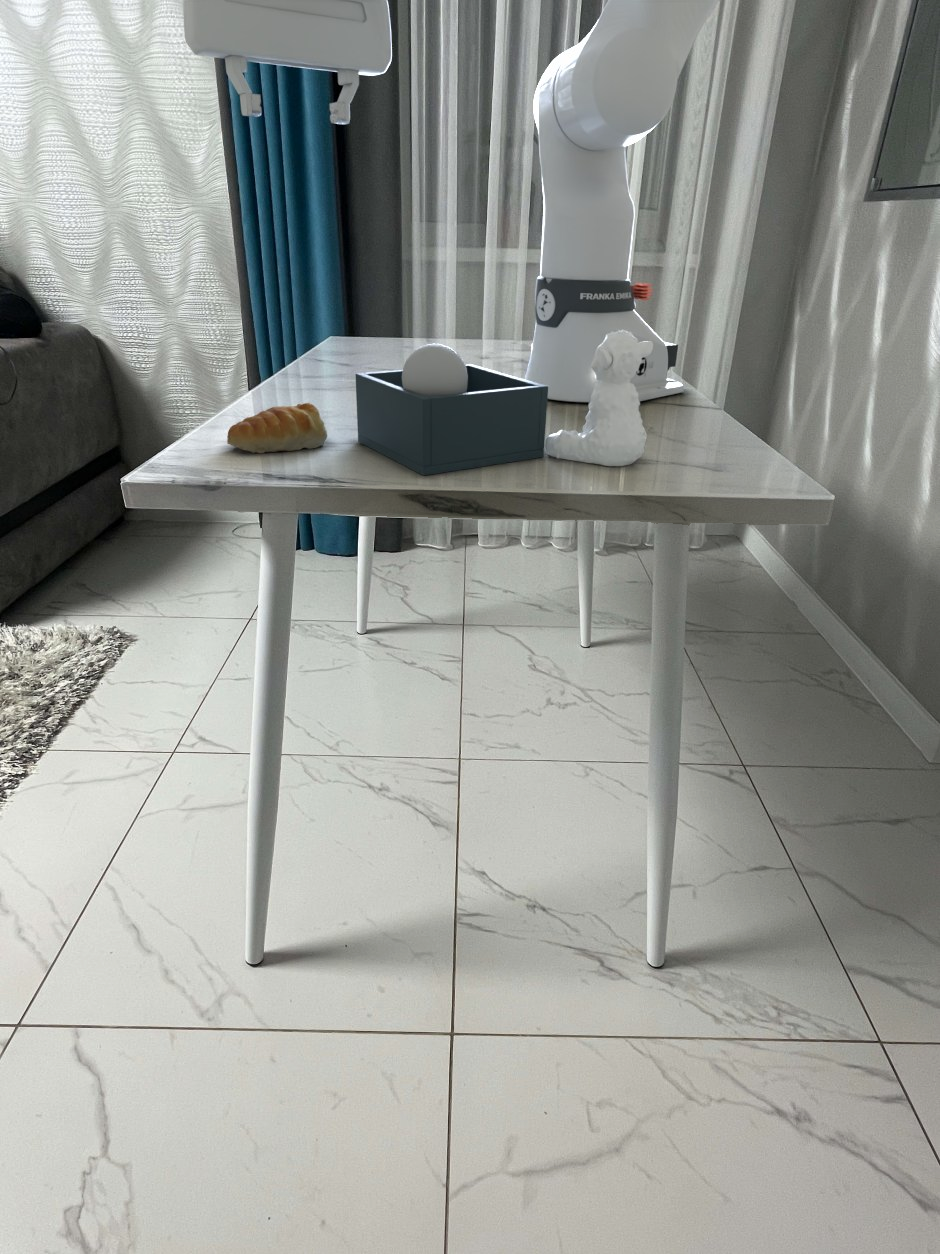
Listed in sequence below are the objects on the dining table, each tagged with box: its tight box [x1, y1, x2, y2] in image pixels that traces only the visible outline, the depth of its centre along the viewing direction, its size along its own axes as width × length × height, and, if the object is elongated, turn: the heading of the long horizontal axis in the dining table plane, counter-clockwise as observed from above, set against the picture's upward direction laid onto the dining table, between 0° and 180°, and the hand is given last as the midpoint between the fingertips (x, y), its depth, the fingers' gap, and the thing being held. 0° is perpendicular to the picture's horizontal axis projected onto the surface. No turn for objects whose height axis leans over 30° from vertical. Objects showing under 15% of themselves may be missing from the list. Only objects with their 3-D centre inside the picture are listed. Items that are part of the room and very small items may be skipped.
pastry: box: [226, 402, 328, 454], centre depth 80 cm, size 9×7×4 cm
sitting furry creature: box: [544, 330, 653, 467], centre depth 77 cm, size 10×9×12 cm
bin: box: [354, 363, 549, 476], centre depth 80 cm, size 14×14×7 cm
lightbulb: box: [402, 343, 468, 397], centre depth 77 cm, size 6×6×11 cm
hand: (297, 119), depth 82 cm, fingers open, 8 cm apart
